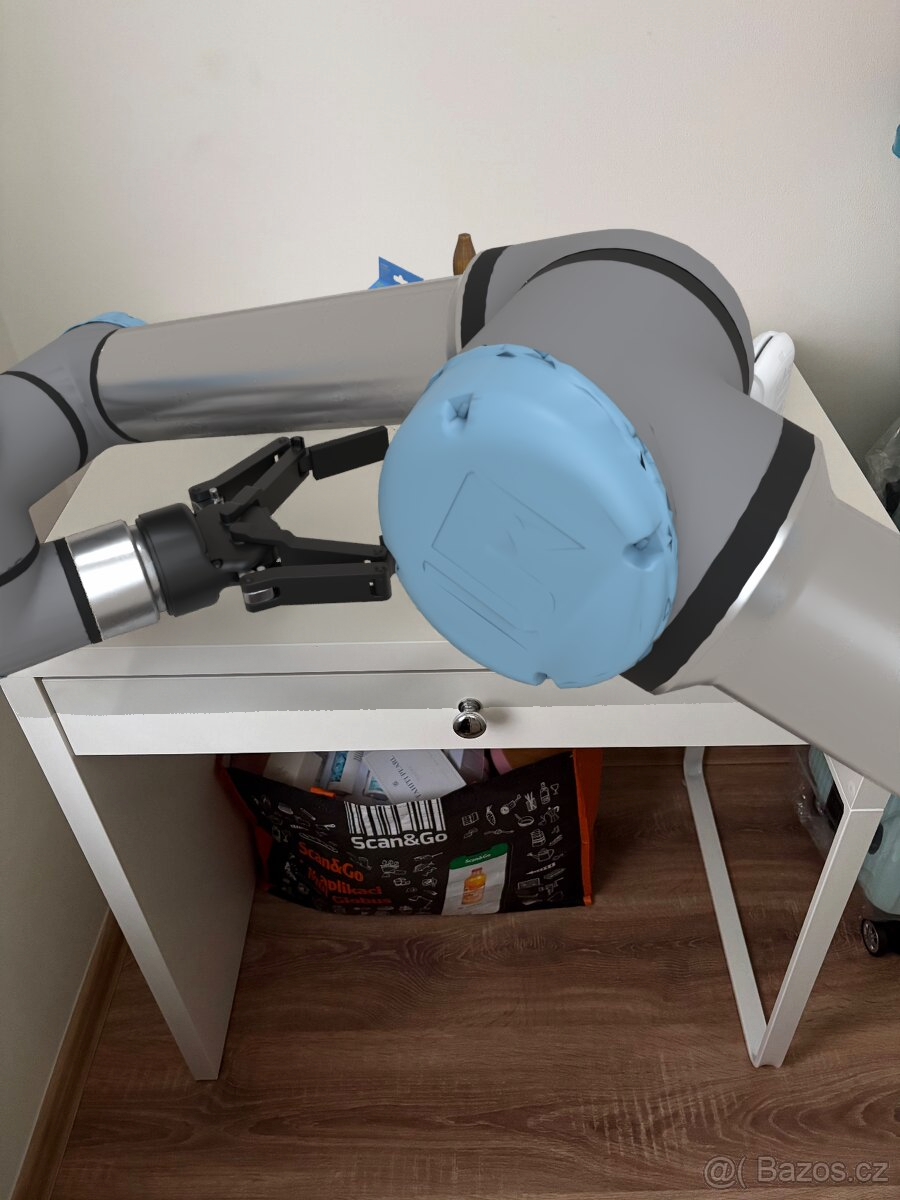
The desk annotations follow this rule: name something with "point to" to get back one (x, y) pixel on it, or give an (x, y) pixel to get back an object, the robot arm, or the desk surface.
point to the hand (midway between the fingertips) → (424, 480)
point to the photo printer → (772, 369)
